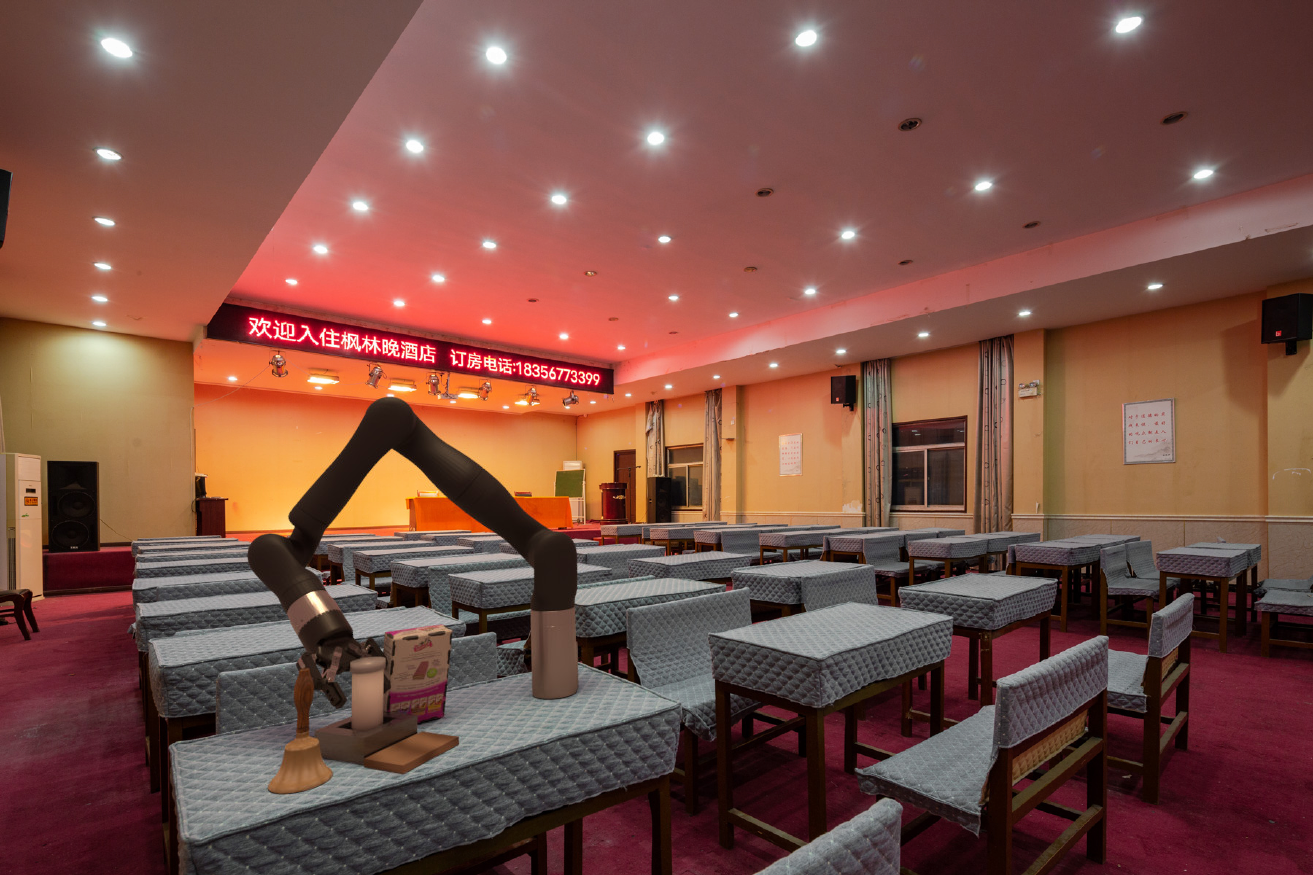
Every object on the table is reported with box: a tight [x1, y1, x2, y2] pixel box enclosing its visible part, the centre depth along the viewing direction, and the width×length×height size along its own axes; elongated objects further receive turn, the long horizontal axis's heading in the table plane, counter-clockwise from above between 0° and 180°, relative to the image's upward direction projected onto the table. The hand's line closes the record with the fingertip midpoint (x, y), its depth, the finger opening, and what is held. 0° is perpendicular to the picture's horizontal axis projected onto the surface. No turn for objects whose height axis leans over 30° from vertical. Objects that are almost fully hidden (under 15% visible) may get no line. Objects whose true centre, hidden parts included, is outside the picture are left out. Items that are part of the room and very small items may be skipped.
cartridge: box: [349, 657, 386, 732], centre depth 105 cm, size 5×5×14 cm
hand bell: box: [267, 668, 334, 795], centre depth 93 cm, size 8×8×16 cm
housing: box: [313, 711, 418, 766], centre depth 104 cm, size 11×11×4 cm
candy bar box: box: [382, 623, 453, 724], centre depth 116 cm, size 11×5×16 cm, turn 134°
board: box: [363, 731, 460, 775], centre depth 100 cm, size 12×8×1 cm, turn 156°
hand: (364, 697), depth 104 cm, fingers open, 8 cm apart
